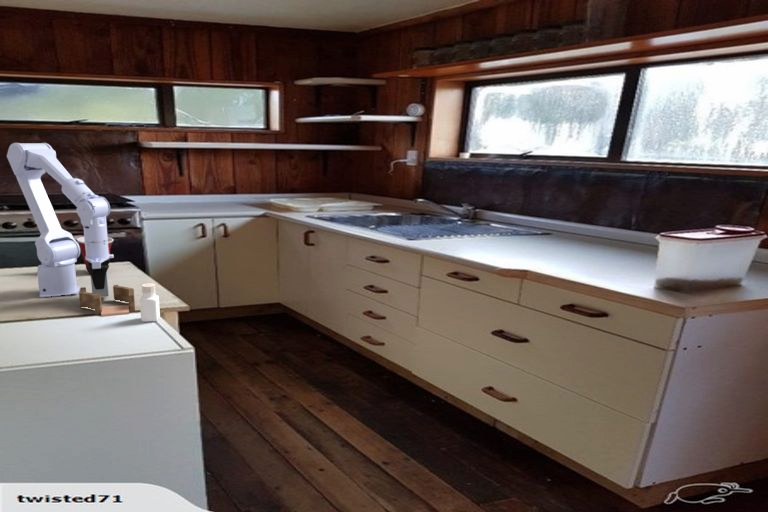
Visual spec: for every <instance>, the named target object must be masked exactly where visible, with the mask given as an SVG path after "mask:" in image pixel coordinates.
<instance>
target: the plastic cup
mask: <svg viewBox="0 0 768 512" xmlns="http://www.w3.org/2000/svg"><path fill="white" fill-rule="evenodd" d="M114 240H115V239H113V238H112V237H109V236H108V249H109V254H111V247H112V244H113V242H114ZM76 242H77V243H78V244H79V246H80V253H81V254H82V258H83V261H84V265H85V266H86V265H89V264H88V261H87V260H86V259H85V256H86V250H85V239H84V236H81V237H78V238H77V239H76ZM86 272H87V274H88V275H90V274H89V272H88V271H87V270H86Z"/></svg>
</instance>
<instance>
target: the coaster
mask: <svg viewBox="0 0 768 512" xmlns="http://www.w3.org/2000/svg"><path fill="white" fill-rule="evenodd" d="M128 314H130V305H129V304H123V305H109V306H102V311H101V314H100V316H101V317H108V316H109V317H110V316H119V315H128Z"/></svg>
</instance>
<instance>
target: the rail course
mask: <svg viewBox="0 0 768 512" xmlns="http://www.w3.org/2000/svg"><path fill="white" fill-rule="evenodd" d="M112 291H113V300H114V299H115V300H120V301H125V302H129V304H128V305H129V312H135V311H136V309H135V308H136V303H135V302H136V301H135V289H134V288H133V287H128V286H121V285H119V284H113V286H112ZM78 297H79V307H88V308H91V309H95V311H94V313H95V315H101V312H102V311H101V309H102V307H103V303H102V297H101V295H99V294H94V293H92V292H88V291H87V289H86V287H85V286H84V287H83V286H82V287H80V289H79V292H78Z"/></svg>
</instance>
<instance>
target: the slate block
mask: <svg viewBox="0 0 768 512" xmlns="http://www.w3.org/2000/svg"><path fill="white" fill-rule="evenodd" d="M90 283H91V284H90V285H91V293H94V294H99V295H101V298H107V297H109V296H110V287H109V276H108V271H107V272H106V276H105V286H104V289H98V290H96V289H95V287H94V284H93V281H92V278H91V277H90Z"/></svg>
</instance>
